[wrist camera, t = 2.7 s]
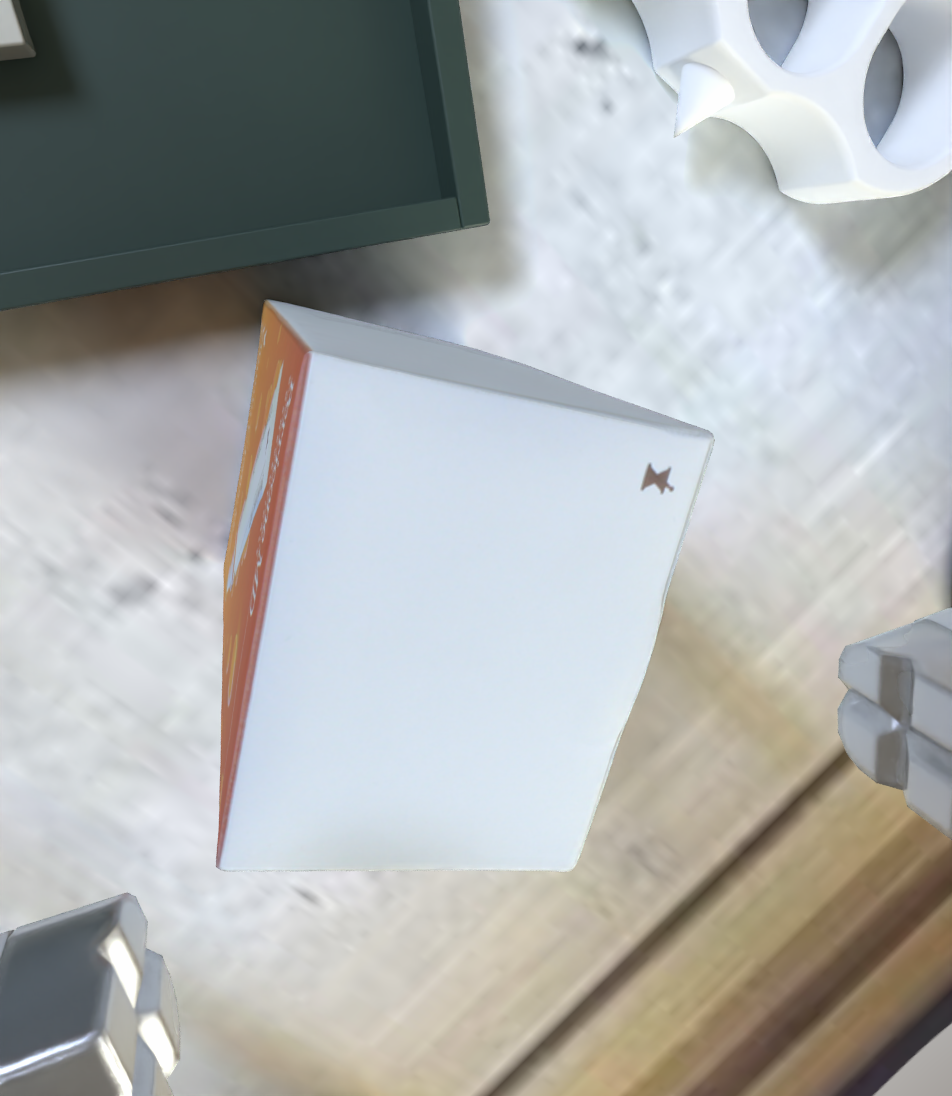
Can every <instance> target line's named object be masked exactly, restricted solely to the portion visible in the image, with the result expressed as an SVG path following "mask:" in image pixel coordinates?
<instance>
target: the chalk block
mask: <svg viewBox="0 0 952 1096" xmlns="http://www.w3.org/2000/svg"><path fill="white" fill-rule="evenodd" d="M34 56H36V52H35V49H34V45H33V42H32V39H31V36H30V33H29V30H28V27H27V24H26V21H25V18H24V15H23V12H22V9H21V5H20V2H19V0H0V61H3V60H12V59H21V58H29V57H34Z"/></svg>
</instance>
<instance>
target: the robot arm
mask: <svg viewBox="0 0 952 1096" xmlns="http://www.w3.org/2000/svg"><path fill="white" fill-rule="evenodd" d="M838 678H839V679H840V680H841V681H842V682H843V683H844V685H845V686H846V687H847V688H848V691H847V693H846V695H845V697H844V699H843V700H842V702H841V704H840V706H839V708H838V733H839V736H840V738H841V740H842V743H843V745H844V747H845V750H846V752H847V754H848V756H849V757H850V758H851V759H852V761H853V762H854V763H855V764H856V766H857V767H858V768H859V769H860V770H861V771H862V772H863V773H865V774H866V775H867V776H869V777H870V778H871V779H872V780H874V781H875V782H876V783H879V784H883V785H886V786H890V787H893V788H897V789H900V790H903V793H904V796H905V800H906V803H907V807H909V808H910V809H911V810H913V811H914V812H915V813H917V814H918V815H919V816H921V817H922V818H923V819H925V820H926V821H927V822H929V823H930V824H931V825H932V826H934V827H935V828H936V829H938V830H939V831H940V832H942V833H943V834H944V835H946V836H947V837H948V838H950V839H951V840H952V608H947V609H944V610H942V611H939V612H936V613H934V614H931V615H928V616H926V617H923V618H920V619H918V620H915V621H914V622H913V623H911V624H907V625H905V626H902V627H899V628H896V629H893V630H890V631H887V632H885V633H882V634H879V635H876V636H873V637H870V638H867V639H865V640H862V641H859V642H856V643H853V644H850V645H847V646H845V648H844V650H843V652H842V654H841V656H840V658H839V673H838ZM147 925H148V921H147V919H146V917H145V915H144V913H143V911H142V909H141V907H140V905H139V903H138V900H137V898H136V897H135V896H133V895H131V894H129V893H124V894H121V895H118V896H114V897H111V898H108V899H105V900H102V901H99V902H96V903H93V904H89V905H86V906H83V907H80V908H77V909H74V910H71V911H68V912H65V913H61V914H58V915H55V916H52V917H49V918H46V919H43V920H40V921H36V922H33V923H30V924H27V925H24V926H21V927H18V928H17V929H16V930H12V931H7V932H4V933H1V934H0V1096H174V1095H173V1093H172V1091H171V1089H170V1086H169V1084H168V1082H167V1079H168V1077H169V1076H170V1074H171V1072H172V1071H173V1069H174V1068H175V1066H176V1064H177V1063H178V1061H179V1059H180V1024H179V1016H178V1007H177V999H176V995H175V991H174V987H173V984H172V980H171V976H170V973H169V971H168V968H167V966H166V964H165V961H164V959H163V956H162V955H160V954H157V953H155V952H153V951H151V950H149V949H147V948H146V937H147Z"/></svg>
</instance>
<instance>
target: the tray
mask: <svg viewBox="0 0 952 1096" xmlns="http://www.w3.org/2000/svg"><path fill="white" fill-rule="evenodd" d="M19 2H20V5H21V9H22V12H23V15H24V18H25V21H26V24H27V27H28V30H29V33H30V36H31V39H32V42H33V45H34V49H35V52H36V56H34V57H29V58H21V59H12V60H3V61H0V311H4V310H9V309H15V308H21V307H26V306H32V305H38V304H43V303H49V302H55V301H60V300H66V299H72V298H77V297H83V296H89V295H94V294H100V293H106V292H111V291H117V290H123V289H128V288H134V287H140V286H145V285H151V284H157V283H162V282H168V281H174V280H179V279H185V278H191V277H196V276H202V275H208V274H213V273H219V272H225V271H230V270H236V269H242V268H247V267H253V266H259V265H264V264H270V263H276V262H281V261H287V260H293V259H298V258H304V257H310V256H315V255H321V254H327V253H332V252H338V251H344V250H349V249H355V248H361V247H366V246H372V245H378V244H383V243H389V242H395V241H400V240H406V239H412V238H417V237H423V236H429V235H434V234H440V233H446V232H451V231H457V230H462V229H468V228H474V227H480V226H485V225H488V224H489V223H490V218H489V211H488V204H487V197H486V190H485V183H484V176H483V169H482V162H481V155H480V147H479V140H478V133H477V126H476V119H475V112H474V105H473V98H472V91H471V84H470V77H469V70H468V63H467V56H466V49H465V42H464V35H463V28H462V21H461V14H460V7H459V0H19Z"/></svg>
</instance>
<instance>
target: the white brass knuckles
mask: <svg viewBox="0 0 952 1096" xmlns="http://www.w3.org/2000/svg"><path fill="white" fill-rule="evenodd" d="M632 2H633V3H634V5H635V7H636V9H637V11H638V12H639V15H640V17H641V19H642V21H643V24H644V27H645V29H646V32H647V36H648V39H649V43H650V48H651V53H652V60H653V69H654V71H655V72H656V73H657V74H658V75H659V76H660V77H661V78H662V79H663V80H664V81H665V82H666V83H667V84H668V85H669V86H670V87H671V88H673V89H674V90H675V91H676V92H677V93H678V94H679V97H678V106H677V114H676V123H675V131H674V138H675V137H677V136H678V135H680V134H681V133H683V132H685V131H686V130H688V129H689V128H691V127H693V126H694V125H696V124H697V123H699V122H701V121H702V120H704V119H705V118H707V117H716V118H721V119H724V120H727V121H730V122H732V123H734V124H736V125H738V126H740V127H741V128H743V129H744V130H745V131H747V132H748V133H749V134H750V135H751V136H752V137H753V138H754V139H755V140H756V141H757V142H758V143H759V145H760V146H761V147H762V149H763V150H764V152H765V153H766V155H767V157H768V159H769V160H770V163H771V165H772V167H773V170H774V172H775V175H776V179H777V183H778V187H779V190H780V191H781V192H782V193H784V194H786V195H787V196H789V197H791V198H793V199H796V200H799V201H802V202H806V203H813V204H830V203H840V202H850V201H860V200H870V199H880V198H890V197H898V196H904V195H908V194H911V193H915V192H917V191H920V190H922V189H924V188H927V187H929V186H930V185H932V184H934V183H935V182H937V181H939V180H940V179H942V178H943V177H944V176H946V175H947V174H948V173H949V172H950V171H952V0H809V1H808V8H807V13H806V17H805V21H804V24H803V27H802V29H801V32H800V34H799V36H798V38H797V40H796V42H795V43H794V45H793V47H792V48H791V50H790V52H789V54H788V55H787V57H786V59H785V61H784V62H783V64H782V66H781V67H780V66H779V65H777V64H776V63H775V62H774V61H773V60H772V59H771V58H770V57H769V56H768V55H767V54H766V53H765V51H764V50H763V48H762V47H761V45H760V43H759V42H758V40H757V38H756V35H755V33H754V30H753V28H752V24H751V21H750V16H749V11H748V4H747V0H632ZM888 28H889V29H890V31H891V32H892V34H893V35H894V37H895V39H896V41H897V43H898V46H899V48H900V52H901V56H902V61H903V70H904V80H903V90H902V96H901V100H900V104H899V107H898V110H897V112H896V115H895V117H894V119H893V121H892V123H891V125H890V126H889V128H888V130H887V131H886V133H885V135H884V136H883V138H882V139H881V141H880V143H879V144H878V146H877V148H876V147H875V146H874V144H873V142H872V140H871V138H870V136H869V133H868V130H867V127H866V123H865V118H864V109H863V94H864V85H865V79H866V75H867V71H868V67H869V64H870V61H871V59H872V56H873V54H874V52H875V50H876V48H877V46H878V44H879V42H880V41H881V39H882V37H883V36H884V34H885V32H886V31H887V29H888Z"/></svg>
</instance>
